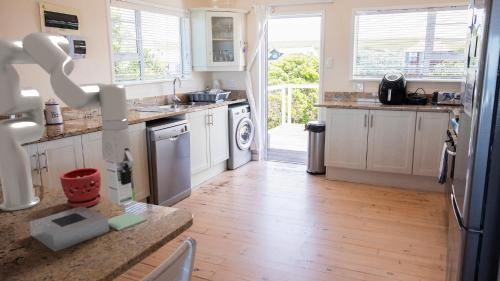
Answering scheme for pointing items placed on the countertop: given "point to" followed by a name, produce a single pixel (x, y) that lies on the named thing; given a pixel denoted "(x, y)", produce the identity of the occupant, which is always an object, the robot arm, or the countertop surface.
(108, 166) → the syrup box
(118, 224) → the rubber mat
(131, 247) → the countertop surface
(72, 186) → the plant pot
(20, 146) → the robot arm
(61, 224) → the socket block
